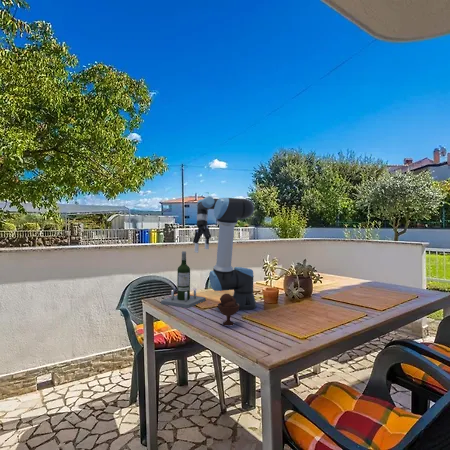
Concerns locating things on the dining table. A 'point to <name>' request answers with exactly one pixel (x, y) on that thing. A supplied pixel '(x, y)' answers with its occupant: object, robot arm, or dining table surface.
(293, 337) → the dining table surface
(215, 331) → the dining table surface
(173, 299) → the peg stand
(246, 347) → the dining table surface
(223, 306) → the ice cream bowl
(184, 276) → the wine bottle
